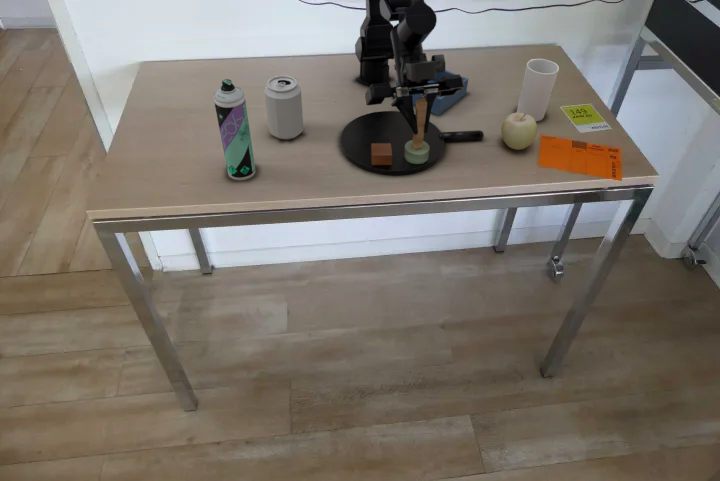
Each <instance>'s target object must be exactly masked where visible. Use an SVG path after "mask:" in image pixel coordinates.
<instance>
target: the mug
mask: <svg viewBox="0 0 720 481" xmlns="http://www.w3.org/2000/svg"><path fill="white" fill-rule="evenodd" d="M559 70H560V67H559V65H558V64H557V63H556V62H554V61H551V60H550V59H545V58H531V59H530V60H528V61H527V63H526V67H525V72H524V76H523V80H522V85H521V88H520V89H521V90H520V94H519V99H518V104H517V108H516V113H524V114H525V113H526V114H528V115H530V116H532V117H533V118H534V119H535V121H536V122H540V121H542V120H543V119H544V117H545V115H546V111H547V110H548V106H549V103H550V99H551V96H552V93H553V89H554V88H555V87H554V86H555V83H556V80H557V77H558V73H559Z"/></svg>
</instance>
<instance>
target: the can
mask: <svg viewBox="0 0 720 481" xmlns="http://www.w3.org/2000/svg"><path fill="white" fill-rule="evenodd" d="M264 98H265V106H266V116H267V124H268V131H269V134H271V135H272V136H273V137H276V139H280V140H291V139H294V138H297V137H298V136H299V135H300V134H301V133H303V130H304V116H303V101H302V99H303V98H302V88H301V85H300V84H299V83H298V80H297V79H296V77H295V78H294V77H293V76H291V75H285V74H283V75H282V74H281V75H276V76H272V77H270V78H269V79H268V80H267V82H266V86H265V87H264Z"/></svg>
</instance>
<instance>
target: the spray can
mask: <svg viewBox="0 0 720 481" xmlns="http://www.w3.org/2000/svg"><path fill="white" fill-rule="evenodd" d="M213 103H214V108H215V112H216V119H217V123H218V128H219V129H218V130H219V133H220V139H221V144H222V151H223V156H224V158H225V166H226V170H227V175H228V177H229V178H231V179H232V180H234V181H246V180H250V179H251V178H253V177H254V175H255V174H256V164H255V157H254V150H253V143H252V142H253V141H252V136H251V129H250V123H249V117H248V115H249V114H248V109H247V101H246V95H245V92H244V90H243V89H242V88H240V87H238V86H236V85H234V84H233V81H232V79H228V78H225V79H223V80H222V81H221V86H220V87H219V88H218V89H217V90H215V91H214V92H213Z"/></svg>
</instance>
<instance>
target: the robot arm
mask: <svg viewBox="0 0 720 481" xmlns="http://www.w3.org/2000/svg"><path fill="white" fill-rule="evenodd" d="M437 21H438V19H437V14H436V13H435V11H434V9H433V8H432V7H431V6H430V5H428V4H427V3H426V1H425V0H365V17H364V19H363V21H362V24H361V25H360V27H359V36H358V38H357V40H356V42H355V44H354V53H355V56H356V58H357V60H358V62H359V76H357V77H356V78H355V81H356V82H357V83H361V84H363V85H365V86H367V87H368V89H366V91H365V93H364V99H365V103H366V104H365V105H366V106H375V105H381V104H383V102H384V101H385V99H388V98H389V99H390V98H391V100H392V102H391V104H390V106H391V107H392V108H394V107H395V108H396V109H397V111H399V112H400V113H401V114H402V115H403V116H404V118H405V119H406V121H407V122H408V124H409V126H410V127H411V129H412V131H413V132H414V134H415V135H417V134H418V127H417V122H416V117H415V113H416V112H415V108H414V105H413V96H412V95H415V94H421V98H422V99H423V98H425V100H426V101H427V109H426V118H425V126H424V133H427V132H428V126H429V122H430V119H431V113H432V112H431V109H432V106H433V103H434V100H436V99H437V98H438V97H439V96H440V97H443V96H452V95H455V94H457V93H458V92H460V91H461V90H462V89H463V88H465V85H464V79H463V78H462V77H463V76H462V75H461V74H460V73H459V74H457V73H456V74H457V75H448V76H443V77H442V78H440V79H439V80H438V81H437V82H433V83H428V81H431V80H433V79H437V73H442V72H445V70H446V60H445V55H444V54H432V55H431V59H430V60H428V56H427V54H426V52H424V47H423V43H424V42H425V40H426V39H428V37H429V36H430V34H431V33H432V32H433V31H434V29H435V27H436V26H437ZM391 22H398V23H396V24H395V25H393V24H392V23H391ZM389 60H394V65H393V67H394V71H396V79H397V81H398V86H397V87H396V86H392V85H391V84H390V82H389V81H391V80H392V77H391V75H390V64H389ZM446 71H447V70H446ZM461 76H462V77H461ZM421 88H422V89H421ZM423 88H424V89H423ZM418 89H419V90H418ZM409 90H410V91H409Z"/></svg>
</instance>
